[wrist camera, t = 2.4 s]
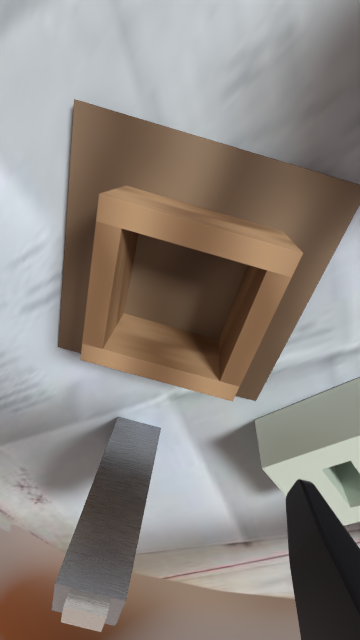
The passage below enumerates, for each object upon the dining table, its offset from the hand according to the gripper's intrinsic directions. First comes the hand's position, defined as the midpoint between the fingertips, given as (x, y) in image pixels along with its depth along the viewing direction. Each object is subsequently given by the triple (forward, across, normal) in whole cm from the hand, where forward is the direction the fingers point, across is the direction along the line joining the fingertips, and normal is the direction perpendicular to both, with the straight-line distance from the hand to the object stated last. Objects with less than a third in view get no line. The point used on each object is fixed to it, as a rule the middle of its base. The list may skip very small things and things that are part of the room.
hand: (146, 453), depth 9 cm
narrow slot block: (+13, -15, +10) cm, 22 cm away
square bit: (+13, +1, +16) cm, 20 cm away
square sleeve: (+13, 0, 0) cm, 13 cm away
